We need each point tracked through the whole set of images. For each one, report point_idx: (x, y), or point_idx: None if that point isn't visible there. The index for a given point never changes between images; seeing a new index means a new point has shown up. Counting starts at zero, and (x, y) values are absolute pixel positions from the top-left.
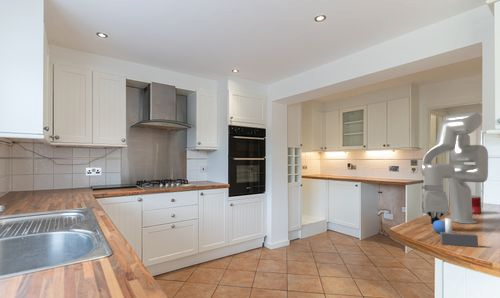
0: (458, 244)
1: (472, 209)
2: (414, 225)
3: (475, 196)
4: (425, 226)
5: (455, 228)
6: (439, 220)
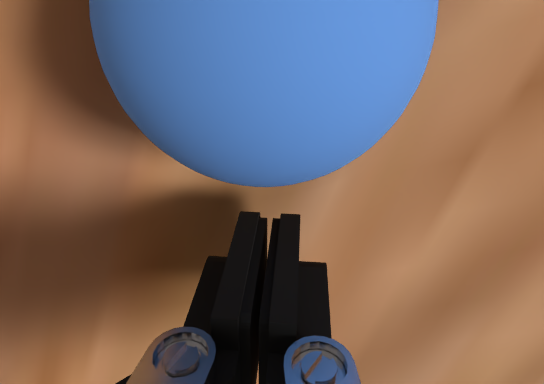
0: None
1: None
2: (463, 368)
3: None
4: None
5: (17, 318)
6: (269, 37)
